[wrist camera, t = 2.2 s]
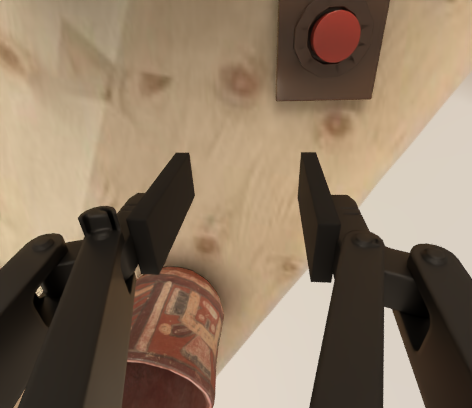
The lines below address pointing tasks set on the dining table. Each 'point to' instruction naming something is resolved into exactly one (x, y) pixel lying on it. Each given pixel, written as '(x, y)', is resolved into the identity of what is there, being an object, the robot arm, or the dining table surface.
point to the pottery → (173, 341)
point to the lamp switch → (335, 36)
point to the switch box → (317, 70)
